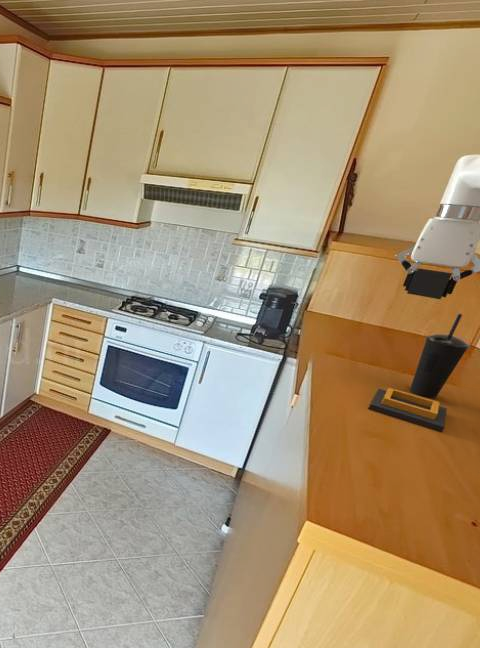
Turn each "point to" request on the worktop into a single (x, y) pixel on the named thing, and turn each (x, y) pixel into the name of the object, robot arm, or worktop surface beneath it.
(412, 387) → the drinking cup
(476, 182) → the robot arm
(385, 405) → the base pad
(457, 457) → the worktop surface
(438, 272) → the black pad
